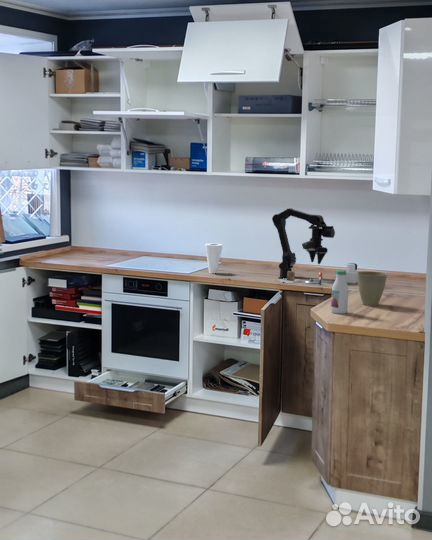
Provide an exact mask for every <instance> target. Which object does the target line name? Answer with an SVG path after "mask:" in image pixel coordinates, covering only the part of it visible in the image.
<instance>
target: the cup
mask: <svg viewBox="0 0 432 540" xmlns="http://www.w3.org/2000/svg"><path fill="white" fill-rule="evenodd" d="M204 246H205V253H206V260H207V269H208V274H209V273H217V274H218V269H219V263H220V259H221V254H222V249H223V244H222V243H205V244H204Z"/></svg>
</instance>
